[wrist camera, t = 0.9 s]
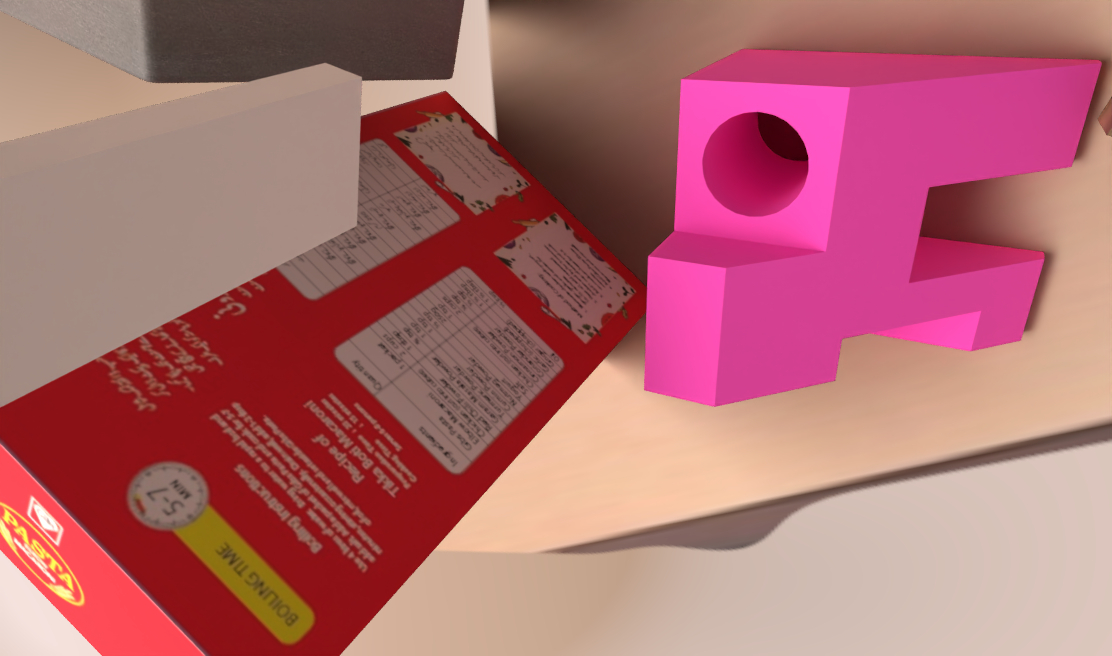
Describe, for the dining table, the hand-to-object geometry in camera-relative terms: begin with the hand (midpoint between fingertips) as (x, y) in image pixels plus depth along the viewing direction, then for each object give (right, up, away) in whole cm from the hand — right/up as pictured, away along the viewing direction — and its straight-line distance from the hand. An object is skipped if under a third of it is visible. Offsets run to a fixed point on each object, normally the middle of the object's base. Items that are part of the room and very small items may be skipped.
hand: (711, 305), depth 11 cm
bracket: (+11, +5, +19) cm, 23 cm away
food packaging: (-4, +5, +28) cm, 28 cm away
